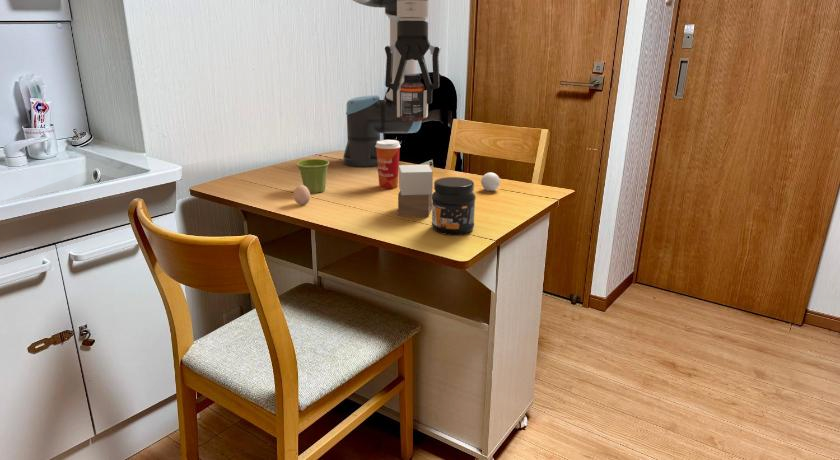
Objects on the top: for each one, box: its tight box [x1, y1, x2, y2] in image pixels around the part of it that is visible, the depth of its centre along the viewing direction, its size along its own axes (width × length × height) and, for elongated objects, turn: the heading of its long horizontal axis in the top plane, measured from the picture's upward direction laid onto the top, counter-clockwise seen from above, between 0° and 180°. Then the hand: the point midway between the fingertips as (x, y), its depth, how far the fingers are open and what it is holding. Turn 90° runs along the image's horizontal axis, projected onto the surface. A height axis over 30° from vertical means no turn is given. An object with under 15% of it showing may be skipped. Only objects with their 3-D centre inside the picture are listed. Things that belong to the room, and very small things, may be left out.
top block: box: [398, 164, 434, 195], centre depth 152 cm, size 8×8×6 cm
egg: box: [293, 184, 311, 206], centre depth 159 cm, size 4×4×6 cm
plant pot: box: [296, 158, 330, 194], centre depth 172 cm, size 9×9×9 cm
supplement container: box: [431, 176, 476, 236], centre depth 140 cm, size 10×10×12 cm
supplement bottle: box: [401, 73, 425, 122], centre depth 145 cm, size 6×6×11 cm
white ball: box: [480, 171, 501, 192], centre depth 173 cm, size 8×6×6 cm
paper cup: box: [375, 139, 401, 190], centre depth 175 cm, size 8×8×14 cm
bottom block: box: [397, 190, 433, 218], centre depth 154 cm, size 8×8×6 cm
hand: (412, 116), depth 146 cm, fingers closed on supplement bottle, 6 cm apart
